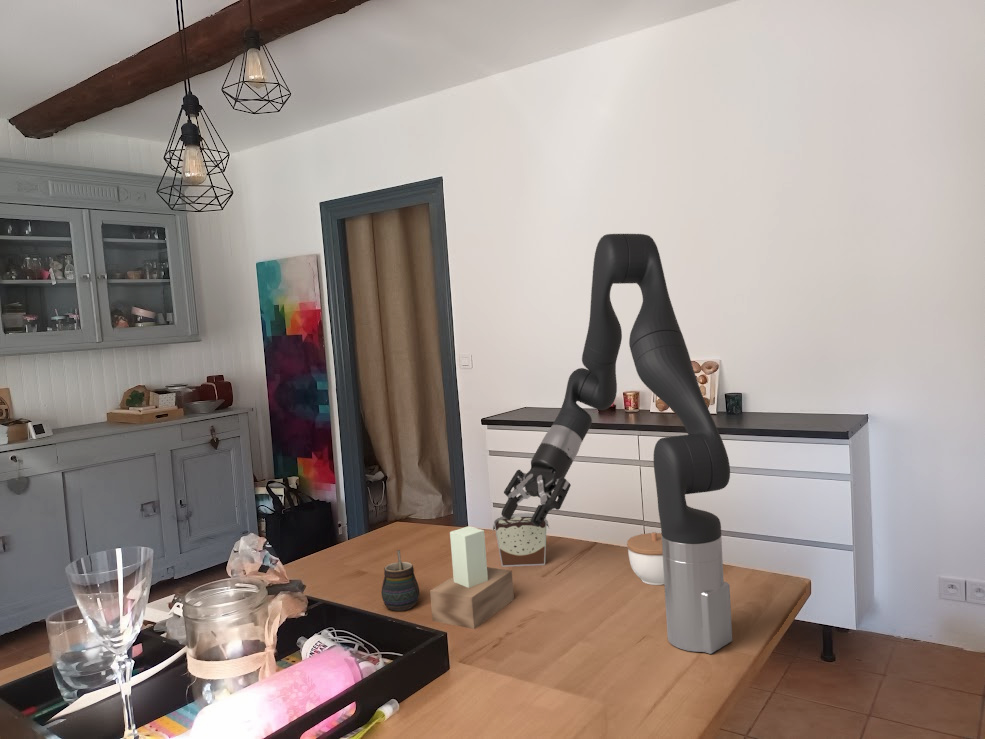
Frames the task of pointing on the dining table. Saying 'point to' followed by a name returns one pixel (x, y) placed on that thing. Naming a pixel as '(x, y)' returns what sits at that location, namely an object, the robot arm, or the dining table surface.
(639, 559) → the lidded jar
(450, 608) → the walnut block
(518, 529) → the food container
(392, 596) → the mate gourd
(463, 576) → the sage block
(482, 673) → the dining table surface
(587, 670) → the dining table surface
